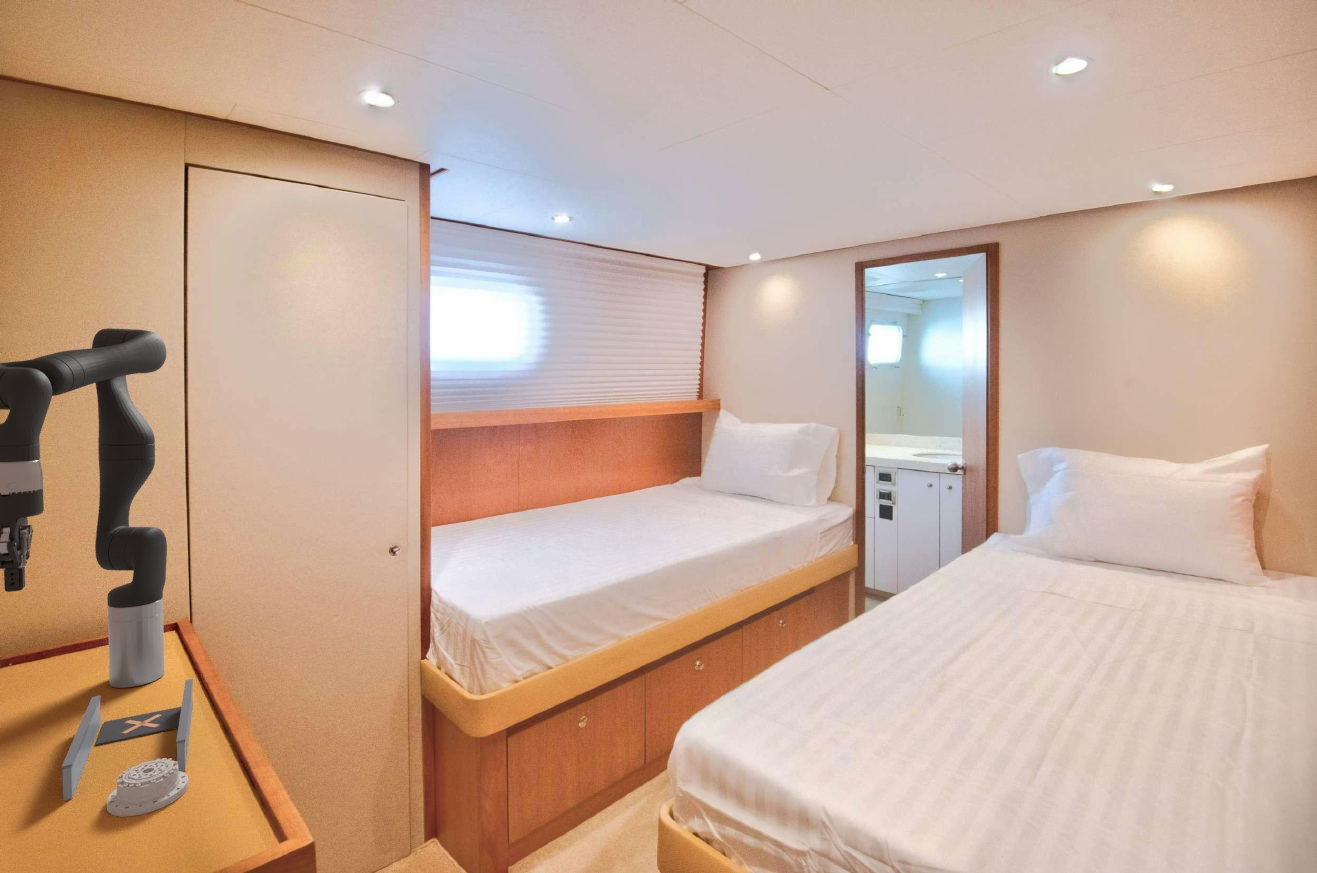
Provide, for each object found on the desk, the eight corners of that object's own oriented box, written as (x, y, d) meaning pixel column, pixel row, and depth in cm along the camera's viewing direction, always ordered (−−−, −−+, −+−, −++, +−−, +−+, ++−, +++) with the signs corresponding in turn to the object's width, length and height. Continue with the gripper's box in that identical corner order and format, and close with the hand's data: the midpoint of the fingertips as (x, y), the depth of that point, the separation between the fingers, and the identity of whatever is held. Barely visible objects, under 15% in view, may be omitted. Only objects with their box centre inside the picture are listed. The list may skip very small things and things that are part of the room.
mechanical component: (88, 819, 94) (159, 818, 95) (87, 790, 94) (158, 790, 95) (139, 778, 104) (202, 778, 105) (138, 752, 104) (202, 752, 104)
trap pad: (104, 723, 120) (104, 721, 120) (183, 707, 127) (183, 705, 127) (95, 745, 113) (95, 743, 113) (180, 727, 119) (180, 725, 119)
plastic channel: (92, 725, 119) (92, 696, 119) (193, 705, 128) (193, 678, 127) (62, 801, 98) (61, 766, 97) (185, 771, 106) (185, 739, 106)
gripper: (-9, 483, 109) (-5, 582, 110) (-35, 494, 98) (-31, 605, 99) (51, 481, 113) (54, 577, 114) (32, 492, 102) (36, 597, 103)
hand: (15, 589), depth 107 cm, fingers closed
